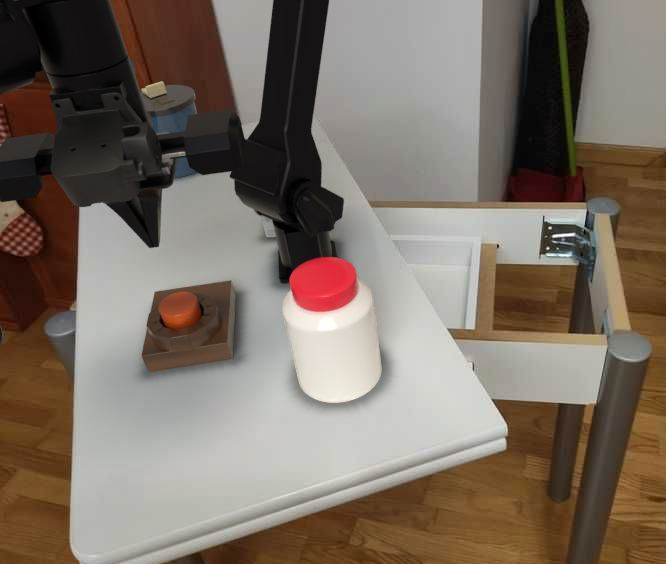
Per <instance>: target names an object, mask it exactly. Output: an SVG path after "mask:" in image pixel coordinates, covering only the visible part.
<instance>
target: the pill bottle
mask: <svg viewBox="0 0 666 564" xmlns="http://www.w3.org/2000/svg"><path fill="white" fill-rule="evenodd" d="M289 287H290V289H289V290H288V291H287V293H286V294H285V296H284V297H283V300H282V303H281V313H282V318H283V322H284V326H285V330H286V331H285V332H286V335H287V339H288V343H289V348H290V351H291V355H292V359H293V363H294V369H295V371H296V376H297V377H296V378H297V380H298V383H299V386H300V388H301V390H302V391H303V392H304V393H305V394H306V395H307V396H308V397H310V398H312V399H313V400H316V401H320V402H323V403H330V404H333V403H336V404H337V403H338V404H340V403H346V402H350V401H353V400H356V399H358V398H361V397H363V396H364V395H366V394H368V393H370V391H371V390H373V389H374V388H375V387H376V385H377V384H378V382H379V381H380V379H381V376H382V369H383V368H382V367H383V366H382V358H381V349H380V342H379V341H380V340H379V332H378V326H377V325H378V324H377V318H376V309H375V300H374V293H373V292H372V290H371V288H370V286H369V285H368V284H367V283H366V282H365V281H363V280H362V279H360V278H358V274H357V269H356V268H355V266H354V265H353V264H352V263H351V262H349V261H348V260H346V259H344V258H340V257H337V258H336V257H322V258H316V259H312V260H310V261H307V262H305V263H303V264H301V265H300V266H298V267H297V268H296V269H295V270H294V271H293V272H292V274H291V276H290V283H289Z"/></svg>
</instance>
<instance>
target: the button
mask: <svg viewBox="0 0 666 564" xmlns="http://www.w3.org/2000/svg"><path fill="white" fill-rule="evenodd" d="M158 309H159V312H160V315H161V317H162V320H163V322H164V325H165V326H166V327H167V328H170V329H181V328H186V327H188V326H190V325H192V324H194V323H196V322H197V321H198V320H199V319H200V318H201V316H202V311H201V308H200V305H199V302H198V300H197V297H196V296H195V295H194V294H192V293H189V292H178V293H174V294H171V295H169V296H167V297H166V298H164V299H163V300H162V301H161V303H160V304H159V308H158Z"/></svg>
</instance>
